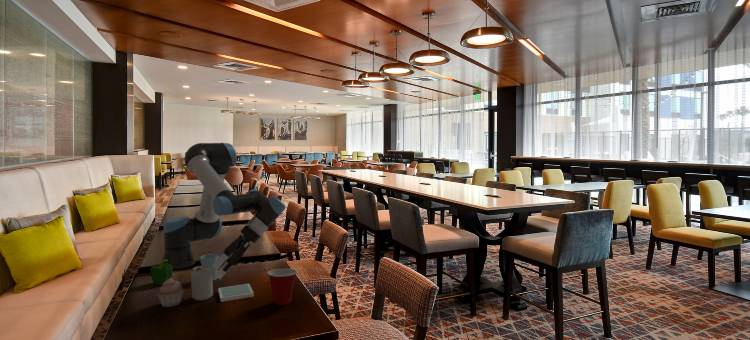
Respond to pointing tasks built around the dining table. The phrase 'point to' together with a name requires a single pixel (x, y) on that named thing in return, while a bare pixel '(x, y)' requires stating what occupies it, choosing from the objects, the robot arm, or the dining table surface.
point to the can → (201, 283)
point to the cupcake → (170, 293)
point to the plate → (235, 292)
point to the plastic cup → (282, 285)
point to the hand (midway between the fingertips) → (215, 272)
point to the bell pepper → (161, 272)
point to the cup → (210, 263)
